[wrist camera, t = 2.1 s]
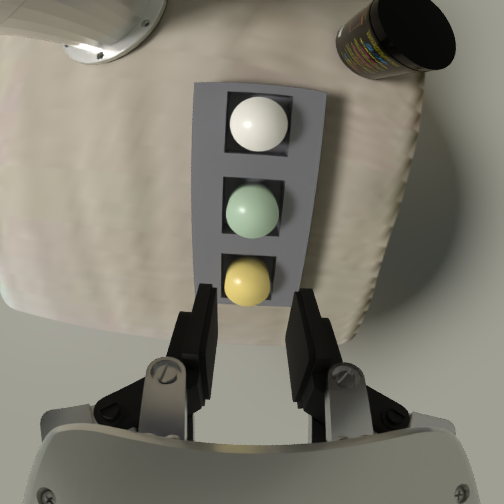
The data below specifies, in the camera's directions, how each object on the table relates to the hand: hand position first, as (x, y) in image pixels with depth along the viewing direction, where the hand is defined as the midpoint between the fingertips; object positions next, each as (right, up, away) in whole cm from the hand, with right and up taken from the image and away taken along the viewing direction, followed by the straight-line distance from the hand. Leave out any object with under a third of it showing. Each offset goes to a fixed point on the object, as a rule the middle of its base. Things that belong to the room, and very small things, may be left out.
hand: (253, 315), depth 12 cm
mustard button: (0, 0, +17) cm, 17 cm away
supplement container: (+11, +23, +8) cm, 26 cm away
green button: (0, +7, +13) cm, 15 cm away
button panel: (0, +8, +15) cm, 17 cm away
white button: (0, +14, +10) cm, 17 cm away
